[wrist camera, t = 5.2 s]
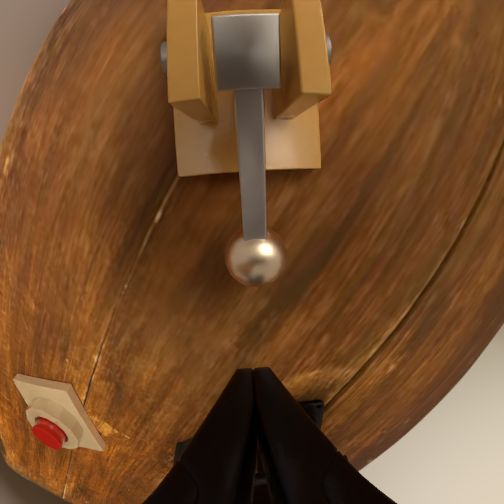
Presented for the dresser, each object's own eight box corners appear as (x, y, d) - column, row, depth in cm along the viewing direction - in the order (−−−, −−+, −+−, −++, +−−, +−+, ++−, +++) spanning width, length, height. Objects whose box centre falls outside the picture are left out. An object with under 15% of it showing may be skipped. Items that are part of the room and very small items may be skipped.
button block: (106, 444, 26) (99, 463, 23) (54, 432, 26) (46, 448, 23) (71, 383, 22) (58, 403, 20) (17, 373, 22) (4, 389, 20)
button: (72, 441, 22) (67, 452, 20) (47, 434, 22) (42, 445, 20) (57, 420, 21) (51, 431, 19) (32, 413, 21) (26, 424, 19)
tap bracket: (316, 167, 17) (379, 183, 9) (182, 175, 17) (129, 198, 9) (304, 17, 14) (346, -60, 6) (175, 24, 14) (131, -51, 6)
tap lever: (281, 255, 18) (289, 297, 16) (227, 259, 18) (227, 301, 15) (282, 17, 9) (297, 12, 7) (203, 21, 9) (193, 17, 7)
